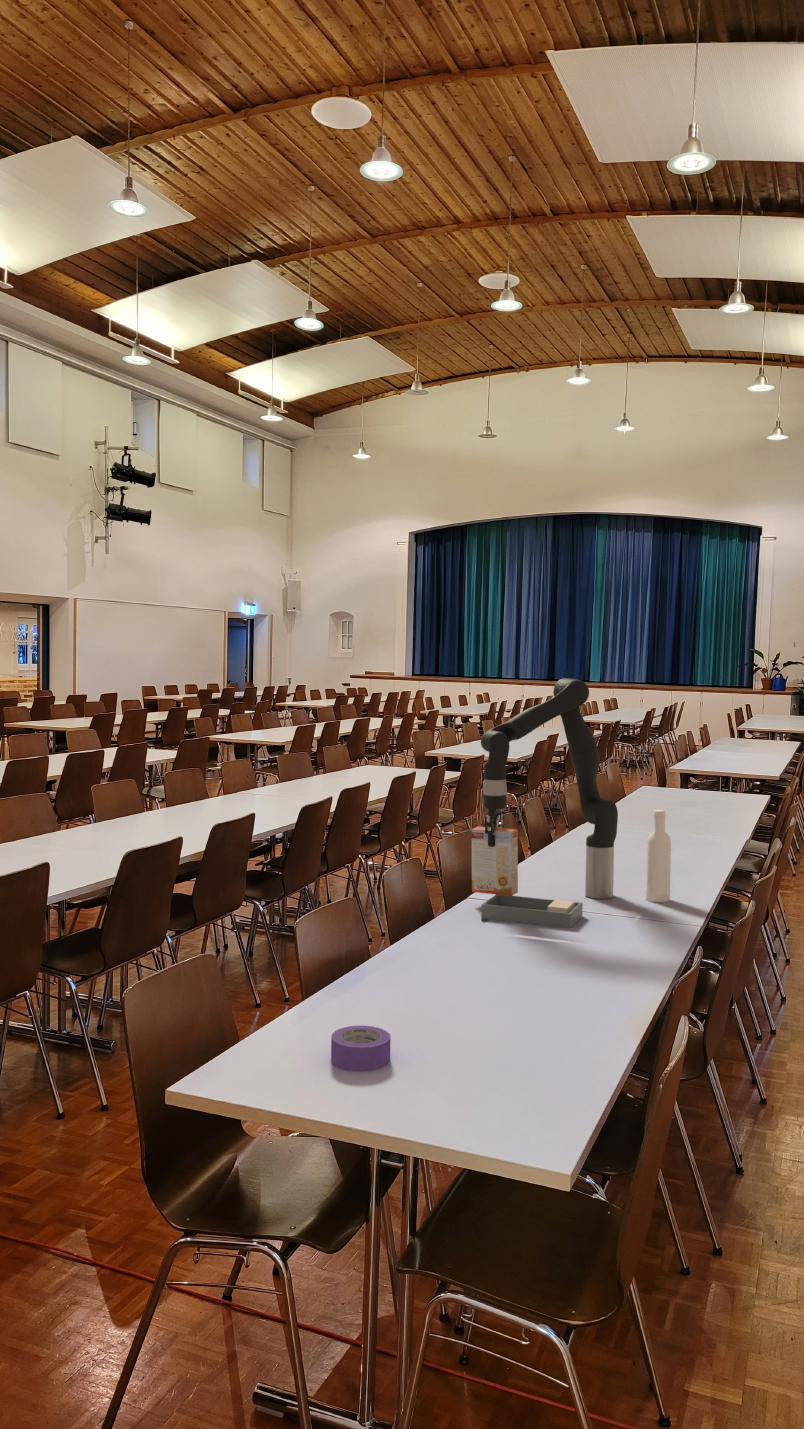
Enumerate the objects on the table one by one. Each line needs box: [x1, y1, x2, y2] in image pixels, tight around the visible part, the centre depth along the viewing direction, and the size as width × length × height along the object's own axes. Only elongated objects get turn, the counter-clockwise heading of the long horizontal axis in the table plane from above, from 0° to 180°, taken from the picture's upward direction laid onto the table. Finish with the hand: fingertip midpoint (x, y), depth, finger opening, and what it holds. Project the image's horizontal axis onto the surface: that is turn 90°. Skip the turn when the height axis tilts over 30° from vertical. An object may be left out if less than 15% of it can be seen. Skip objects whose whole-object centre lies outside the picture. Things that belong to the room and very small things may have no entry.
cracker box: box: [471, 826, 519, 896], centre depth 323 cm, size 14×6×21 cm, turn 62°
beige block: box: [547, 899, 575, 913], centre depth 304 cm, size 9×6×5 cm, turn 157°
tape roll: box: [330, 1025, 392, 1073], centre depth 199 cm, size 12×12×5 cm
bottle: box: [645, 809, 672, 904], centre depth 333 cm, size 8×8×30 cm
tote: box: [480, 894, 584, 929], centre depth 307 cm, size 15×28×5 cm, turn 67°
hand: (494, 844), depth 323 cm, fingers closed on cracker box, 6 cm apart
